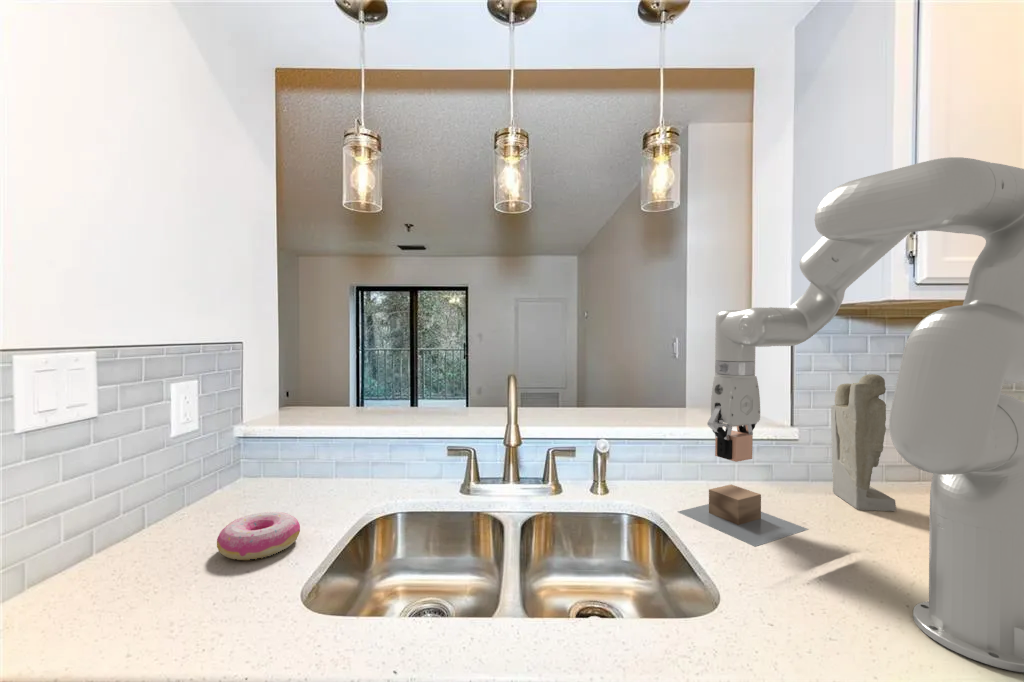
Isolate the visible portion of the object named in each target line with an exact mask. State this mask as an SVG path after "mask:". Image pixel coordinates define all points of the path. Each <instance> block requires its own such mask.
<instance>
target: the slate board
mask: <svg viewBox="0 0 1024 682" xmlns="http://www.w3.org/2000/svg"><path fill="white" fill-rule="evenodd" d="M677 513H678V514H681V515H683V516H686V517H688V518H690V519H692V520H694V521H696V522H699V523H701V524H703V525H705V526H708V527H710V528H712V529H715V530H717V531H719V532H721V533H724V534H726V535H728V536H730V537H733V539H737V540H739V541H741V542H744V543H746V544H748V545H750V546H752V547H755V548H756V547H759V546H762V545H766V544H768V543H771V542H774V541H777V540H780V539H783V538H787V537H789V536H793V535H795V534H798V533H802V532H805V531H808V530H809V528H808V527H804V526H802V525H798V524H796V523H793V522H791V521H788V520H785V519H782V518H781V517H778V516H775V515H771V514H769V513H767V512H763V511H761V519H758V520H754V521H751V522H747V523H744V524H740V525H737V524H735V523H732V522H730V521H727V520H725V519H723V518H720V517H718V516H715V515H713V514H711V513H709V503H707V504H704V505H700V506H695V507H690V508H687V509H686V508H685V509H684V510H683V509H682V510H678V511H677Z"/></svg>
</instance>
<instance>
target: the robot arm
mask: <svg viewBox="0 0 1024 682" xmlns="http://www.w3.org/2000/svg"><path fill="white" fill-rule="evenodd" d="M814 224H815V225H814V226H815V228H816V231H817V232H818V233H819V234H820V235H821V237H820V238H819V239H818V240H817V241H816V243H814V244H813V245H812V246H811V247H810V248H809V250H808V251H806V252H805V253H804V254H803V255H802V257H801V258H800V261H799V269H800V271H801V273H802V275H803V276H804V277H805V278H806V280H808V282H809V286H808V288H807V289H806V291H804V293H803V294H802V295H801V296H800V297H799V298H797V300H796V301H795V302H793V303H792V304H791V305H790V306H788V307H771V306H770V307H751V308H746V309H735V310H734V309H733V310H732V309H731V310H728V309H727V310H722V311H719V312H718V313H717V314H716V315H715V316H716V317H715V337H714V338H715V339H714V340H715V343H714V345H715V349H714V350H715V352H714V353H715V354H714V355H715V356H714V359H715V361H714V377H713V382H712V389H711V397H710V398H711V399H710V417H709V420H708V421H707V426H708V427H709V428H710V429H711V431H712V432H713V434H714V436H715V437H716V438H717V456H718V458H721V457H722V459H724V458H725V460H728V459H729V461H731V460H730V459H732V440H730V436H731V431H732V430H733V427H736V431H738V432H742V433H747V434H751V435H753V434H754V432H753V431H754V429H755V427H756V425H757V423H759V422H760V420H761V397H760V386H759V383H758V382H759V381H758V377H757V376H756V348H757V347H758V348H763V347H764V348H765V347H766V348H767V347H792V346H793V347H794V346H797V345H801V344H802V343H804V342H806V341H807V340H809V339H811V338H812V337H813V336H814V335H816V334H817V333H818V332H820V330H822V329H823V328H825V327H826V325H828V324H829V322H831V321H832V320H833V319H834V317H835V316H836V315H837V313H838V311H839V310H840V307H841V305H842V303H843V300H844V298H845V294H846V293H845V292H846V290H847V289H848V288H849V287H850V286H851V285H852V284H854V282H856V281H857V280H858V279H859V278H860V277H861V276H863V275H864V274H865V273H866V272H867V271H868V270H869V269H870V268H872V267H873V266H874V265H875V264H877V262H878V261H880V259H883V257H884V256H886V255H887V254H888V253H889V252H890V251H891V250H892V249H893V248H894V247H896V246H897V245H898V244H899V243H900V242H902V241H903V240H904V238H906V237H907V236H908V235H910V233H917V232H926V231H927V232H928V231H929V232H930V231H931V232H944V233H954V234H965V235H974V236H978V237H982V238H983V239H984V240H985V245H984V247H983V249H982V250H981V251H980V253H979V255H978V257H977V258H976V260H975V262H974V264H973V266H972V268H971V270H970V275H969V278H968V285H967V289H966V292H965V296H964V300H963V303H962V305H953V306H948V307H944V308H941V309H939V310H937V311H933V312H932V313H930V314H928V315H927V316H926V317H924V318H923V319H922V320H920V321H919V322H918V324H916V326H915V327H914V328H913V330H912V331H911V332H910V334H909V336H908V338H907V340H906V342H905V346H904V349H903V353H902V356H901V361H900V365H899V371H898V375H897V380H896V385H895V389H894V394H893V398H892V399H893V400H892V404H891V408H890V414H889V421H888V422H889V424H888V429H889V436H890V440H891V442H892V445H893V446H894V449H895V450H896V451H897V453H898V455H900V456H901V458H902V459H903V460H904V461H906V462H907V463H908V464H910V465H911V466H913V467H915V468H917V469H919V470H921V471H924V472H926V473H931V474H932V478H931V483H930V490H929V491H930V492H929V536H928V537H929V540H928V541H929V547H928V550H929V551H928V553H929V554H928V557H929V558H928V561H929V562H928V601H927V600H926V601H922V602H920V603H919V602H918V603H917V604H916V605H915V606H914V608H913V610H912V618H913V621H914V623H915V625H917V627H918V628H919V629H920V630H921V631H922V632H923V633H924V634H926V635H927V636H928V637H929V638H931V639H933V640H934V641H935V642H937V643H939V644H940V645H942V646H943V647H945V648H947V649H949V650H951V651H953V652H954V653H957V654H959V655H961V656H964V657H966V658H968V659H971V660H974V661H976V662H979V663H982V664H984V665H987V666H992V667H995V668H998V669H1002V670H1007V671H1010V672H1014V673H1015V672H1016V673H1023V674H1024V401H1022V400H1021V399H1019V398H1016V397H1015V396H1011V395H1008V394H1006V393H1002V389H1003V387H1004V385H1008V384H1009V385H1010V384H1017V383H1023V382H1024V168H1021V167H1016V166H1014V165H1013V166H1012V165H1007V164H1002V163H999V162H998V163H996V162H990V161H986V160H985V161H984V160H980V159H976V158H969V157H954V156H953V157H951V156H949V157H941V158H935V159H931V160H926V161H922V162H917V163H914V164H910V165H906V166H903V167H898V168H896V169H892V170H888V171H887V170H886V171H884V172H879V173H875V174H871V175H867V176H864V177H860V178H856V179H853V180H849V181H847V182H845V183H842V184H841V185H840V184H839V186H837V187H835V188H834V189H832V190H831V191H830V192H828V193H827V194H826V195H825V196H824V197H823V198H822V199H821V201H820V203H819V204H818V206H817V208H816V210H815V212H814ZM723 427H724V428H725V430H724V428H723ZM753 436H754V435H753ZM715 437H714V438H715ZM717 456H716V457H717Z"/></svg>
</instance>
